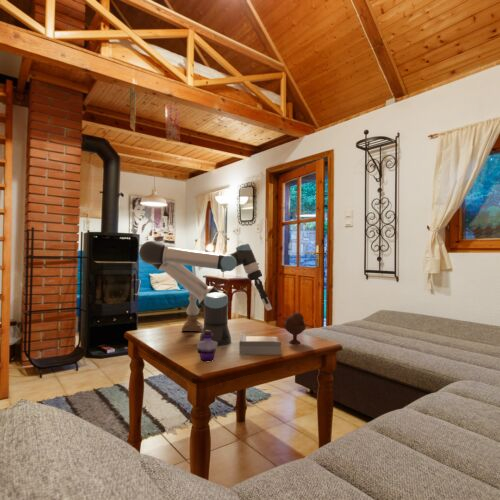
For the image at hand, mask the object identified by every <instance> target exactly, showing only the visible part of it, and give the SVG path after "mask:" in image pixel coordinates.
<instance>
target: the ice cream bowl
mask: <svg viewBox="0 0 500 500" xmlns="http://www.w3.org/2000/svg"><path fill="white" fill-rule="evenodd" d="M304 318H305V317H304V315H303V313H300V312H294V313H293V314H292V315H288V317H286V319H285V322H283V325H284V326H283V327H284V329H285V330H286V331H287V332H288V333H289V334H291V335H292V339H291V340H290V341H288V343H289V344H291V345H301V341H300V340H298V338H297V337H298V335H301V334H302V333H303V332H304V331H305V330H306V328H307V323H305V320H304Z"/></svg>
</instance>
